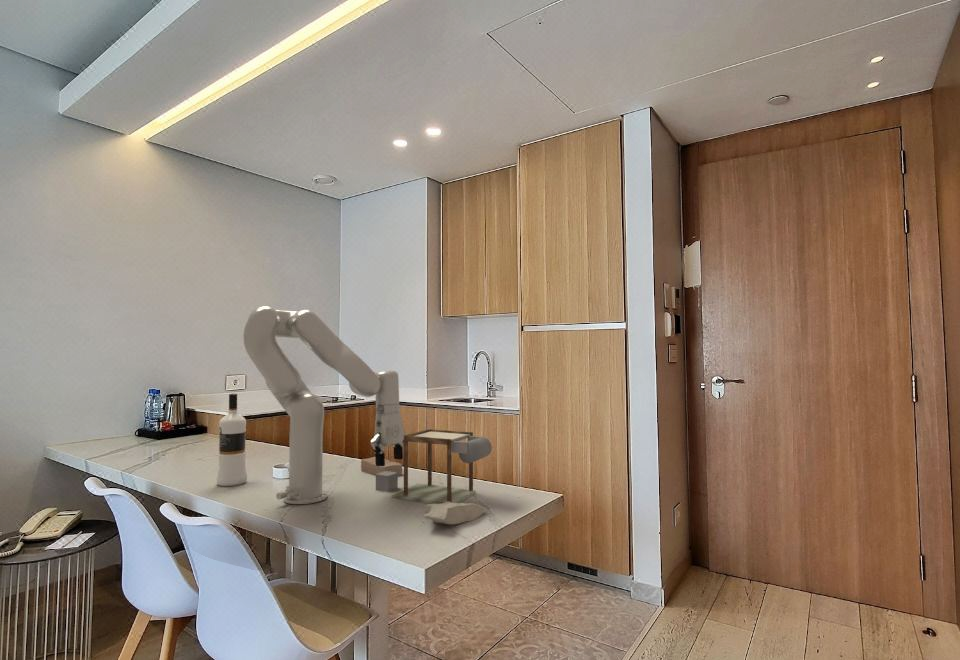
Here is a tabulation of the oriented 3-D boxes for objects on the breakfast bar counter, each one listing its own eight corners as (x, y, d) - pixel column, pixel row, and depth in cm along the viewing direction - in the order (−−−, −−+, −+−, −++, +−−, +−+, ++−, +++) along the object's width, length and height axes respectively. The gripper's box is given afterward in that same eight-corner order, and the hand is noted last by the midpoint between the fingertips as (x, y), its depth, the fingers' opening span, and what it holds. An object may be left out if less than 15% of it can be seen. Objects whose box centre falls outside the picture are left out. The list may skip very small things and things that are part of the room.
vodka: (248, 484, 175) (249, 394, 176) (216, 488, 171) (218, 395, 172) (245, 478, 184) (247, 392, 185) (216, 482, 179) (217, 393, 180)
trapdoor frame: (475, 493, 164) (475, 432, 165) (451, 506, 151) (451, 439, 151) (418, 485, 173) (418, 428, 174) (391, 497, 160) (391, 434, 161)
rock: (398, 526, 135) (441, 532, 127) (398, 507, 136) (441, 512, 127) (452, 512, 152) (494, 516, 143) (452, 495, 153) (493, 499, 144)
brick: (403, 475, 189) (403, 462, 189) (383, 479, 183) (383, 465, 183) (379, 468, 201) (379, 455, 201) (359, 471, 195) (359, 458, 196)
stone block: (388, 491, 167) (388, 475, 167) (375, 490, 169) (375, 474, 169) (397, 488, 171) (397, 472, 171) (385, 486, 173) (385, 471, 173)
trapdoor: (493, 457, 160) (493, 435, 160) (475, 465, 149) (475, 441, 150) (430, 451, 170) (430, 430, 170) (409, 458, 159) (409, 436, 159)
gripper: (380, 413, 161) (382, 469, 161) (412, 406, 177) (414, 457, 177) (361, 412, 165) (363, 467, 164) (393, 405, 180) (395, 455, 180)
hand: (389, 462), depth 171 cm, fingers open, 9 cm apart
